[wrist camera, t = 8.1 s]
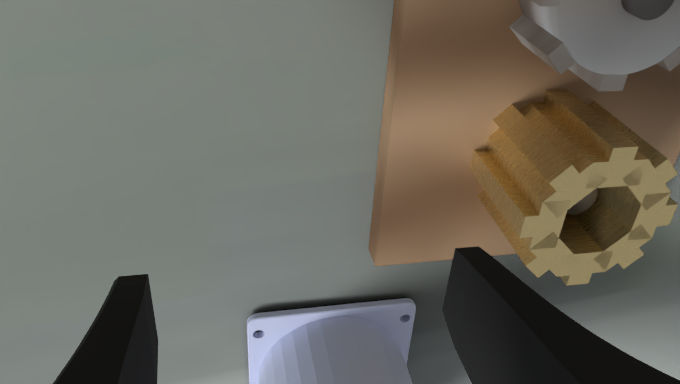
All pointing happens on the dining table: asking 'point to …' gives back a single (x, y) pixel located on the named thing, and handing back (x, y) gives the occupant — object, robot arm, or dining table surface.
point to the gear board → (504, 102)
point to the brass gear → (572, 186)
